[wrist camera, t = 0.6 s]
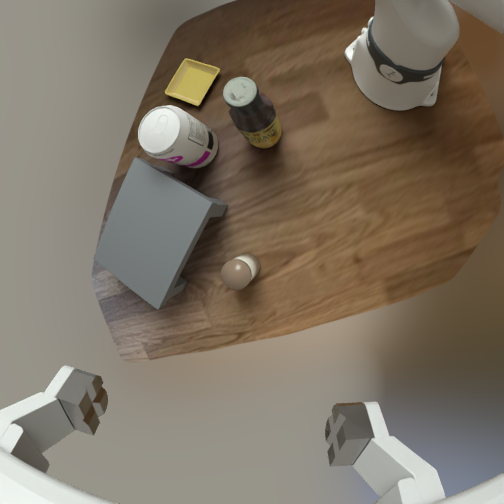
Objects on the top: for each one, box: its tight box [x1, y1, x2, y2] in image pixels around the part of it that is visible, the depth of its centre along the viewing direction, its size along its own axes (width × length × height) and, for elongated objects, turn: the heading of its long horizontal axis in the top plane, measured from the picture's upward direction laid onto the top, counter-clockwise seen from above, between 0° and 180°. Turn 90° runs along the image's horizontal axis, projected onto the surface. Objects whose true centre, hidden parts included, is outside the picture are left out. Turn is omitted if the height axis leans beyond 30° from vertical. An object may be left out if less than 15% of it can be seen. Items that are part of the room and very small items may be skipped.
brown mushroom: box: [221, 253, 260, 290], centre depth 50 cm, size 5×5×8 cm
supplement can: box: [138, 105, 218, 168], centre depth 46 cm, size 8×8×15 cm
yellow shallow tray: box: [165, 58, 220, 106], centre depth 50 cm, size 9×9×2 cm
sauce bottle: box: [223, 77, 282, 148], centre depth 40 cm, size 7×6×20 cm
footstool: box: [94, 158, 228, 310], centre depth 51 cm, size 20×16×10 cm
